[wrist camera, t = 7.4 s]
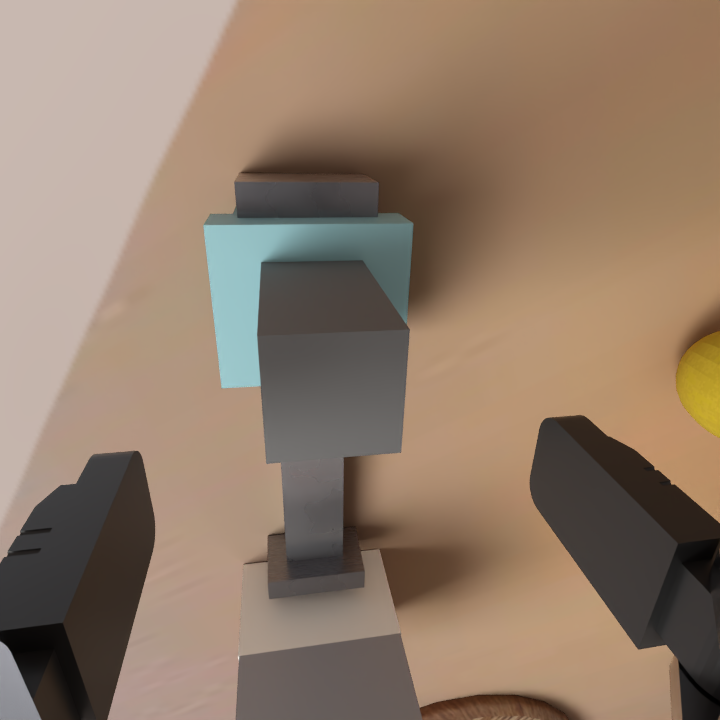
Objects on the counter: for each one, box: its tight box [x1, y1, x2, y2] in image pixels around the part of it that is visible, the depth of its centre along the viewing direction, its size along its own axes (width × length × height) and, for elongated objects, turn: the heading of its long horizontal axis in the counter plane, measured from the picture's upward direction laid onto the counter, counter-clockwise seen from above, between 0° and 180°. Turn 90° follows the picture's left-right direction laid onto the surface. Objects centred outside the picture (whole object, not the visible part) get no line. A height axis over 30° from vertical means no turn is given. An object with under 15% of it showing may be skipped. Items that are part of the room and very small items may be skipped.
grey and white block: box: [236, 549, 422, 720], centre depth 26 cm, size 6×8×10 cm
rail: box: [234, 173, 379, 599], centre depth 23 cm, size 20×5×3 cm, turn 179°
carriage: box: [203, 207, 413, 464], centre depth 17 cm, size 6×7×11 cm
